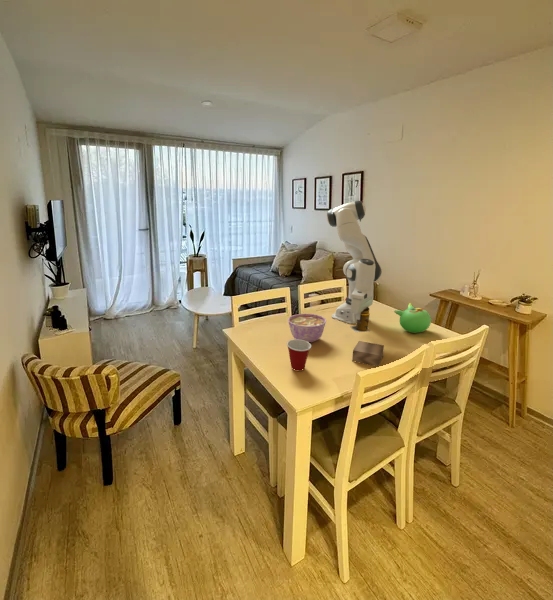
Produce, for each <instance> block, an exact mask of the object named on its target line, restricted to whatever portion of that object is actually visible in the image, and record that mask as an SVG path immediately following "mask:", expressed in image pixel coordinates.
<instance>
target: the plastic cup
mask: <svg viewBox="0 0 553 600" xmlns="http://www.w3.org/2000/svg"><path fill="white" fill-rule="evenodd" d="M286 346H287V349H288V354H289V360H290V361H289V362H290V366H291V369H292V368H293V369H295V370H302V369H304V370H305V367H306V363H307V361H308V360H307V359H308V355H309V351H310V349H312V344H311V343H309V342H307V341H304V340H299V339H295V338H294V339H290V340H288V341H287V342H286ZM293 369H292V370H293Z"/></svg>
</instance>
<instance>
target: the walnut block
mask: <svg viewBox="0 0 553 600" xmlns="http://www.w3.org/2000/svg"><path fill="white" fill-rule="evenodd" d="M384 348H385V345H383V344H378V343H373V342H368V341H363V340H359V341H357V343H356V345H355V347H353V350H352V356H351V357H352V360H351V361H352V362H353V361H356V362H355V363H358V362H360V363H359V364H362V363H364V364H363V365H367V364H368V366H371V367H372V366H374V367H377V368H378V366H379V367H380V364H381V362H382V359H383V357H384V350H385V349H384Z"/></svg>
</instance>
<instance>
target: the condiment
mask: <svg viewBox="0 0 553 600" xmlns="http://www.w3.org/2000/svg"><path fill="white" fill-rule="evenodd" d="M370 314H371V313H370V307H367V308H365V309H364V310H363V311H362V312H361V314H360V316H361V319H360V320H357V323H355V324H356V325H353V326H351V325H350V326H349V328H351V330H353V331H354V332H355V333H365V332H366V333H367V332H371V329H369V322H370Z"/></svg>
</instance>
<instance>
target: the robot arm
mask: <svg viewBox="0 0 553 600" xmlns="http://www.w3.org/2000/svg"><path fill="white" fill-rule="evenodd" d="M365 216H366V205H365V204H364V203H363V201H362V200H354V201H351V202H347V203H343V204H341V205H339V206H336V207H334V208H330V209H329V210H328V211H327V213H326V221H327V223H328V224H329V226H330V227H335V228H336V229H337V234H338V238H339V239H340V241H341V242H342V243H344V246H345V247H344V248H345V250H346V252H347V253H348V254H349V255H350V256H351V257H352V259H349V260H348V261H347V262H345V263H344V265H343V268H342V271H343V274H344V275H345V277H346V278H347V281H348V295H347V297H345V298H344V302H343V303H342V304H340V305H339V306H338V307H337V308H336V309H335V312H334V313H332V314H331V318H332V319H335V320H337V321H341V322H343V323H347V324H351V325H353V324H356V323H357V320H360V319H361V316H360V314H361V312H362V311H363V310H364V309H365V308H367V307H368V308H370V307H371V306H372V305H373V303H374V282H376V281H378V280H379V279H380V277H381V276H382V267H381V265H380V263H379V262H378V260H377V259H376V255H375V254H374V250H373V248H372V246H371V244H370V241H369V240H368V239H369V238H368V237H367V235H365V234H363V233H362V230H361V225H359V224H360V223H359V222H362V220H363V219H364V218H365ZM358 220H359V222H358Z"/></svg>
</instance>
